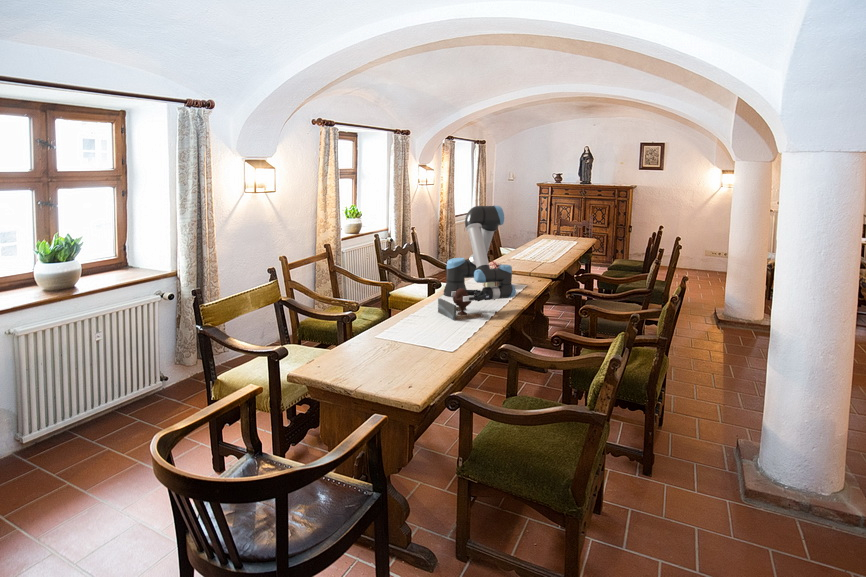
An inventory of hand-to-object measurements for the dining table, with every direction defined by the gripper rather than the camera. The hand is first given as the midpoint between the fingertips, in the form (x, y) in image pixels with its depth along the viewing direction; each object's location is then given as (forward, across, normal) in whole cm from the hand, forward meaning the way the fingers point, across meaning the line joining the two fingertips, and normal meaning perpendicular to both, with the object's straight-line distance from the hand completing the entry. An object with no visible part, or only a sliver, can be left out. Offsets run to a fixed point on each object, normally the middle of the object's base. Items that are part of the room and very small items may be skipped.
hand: (457, 296), depth 331 cm
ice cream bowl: (-3, 0, -11) cm, 11 cm away
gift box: (-58, +58, -11) cm, 83 cm away
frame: (-2, 0, -10) cm, 11 cm away
